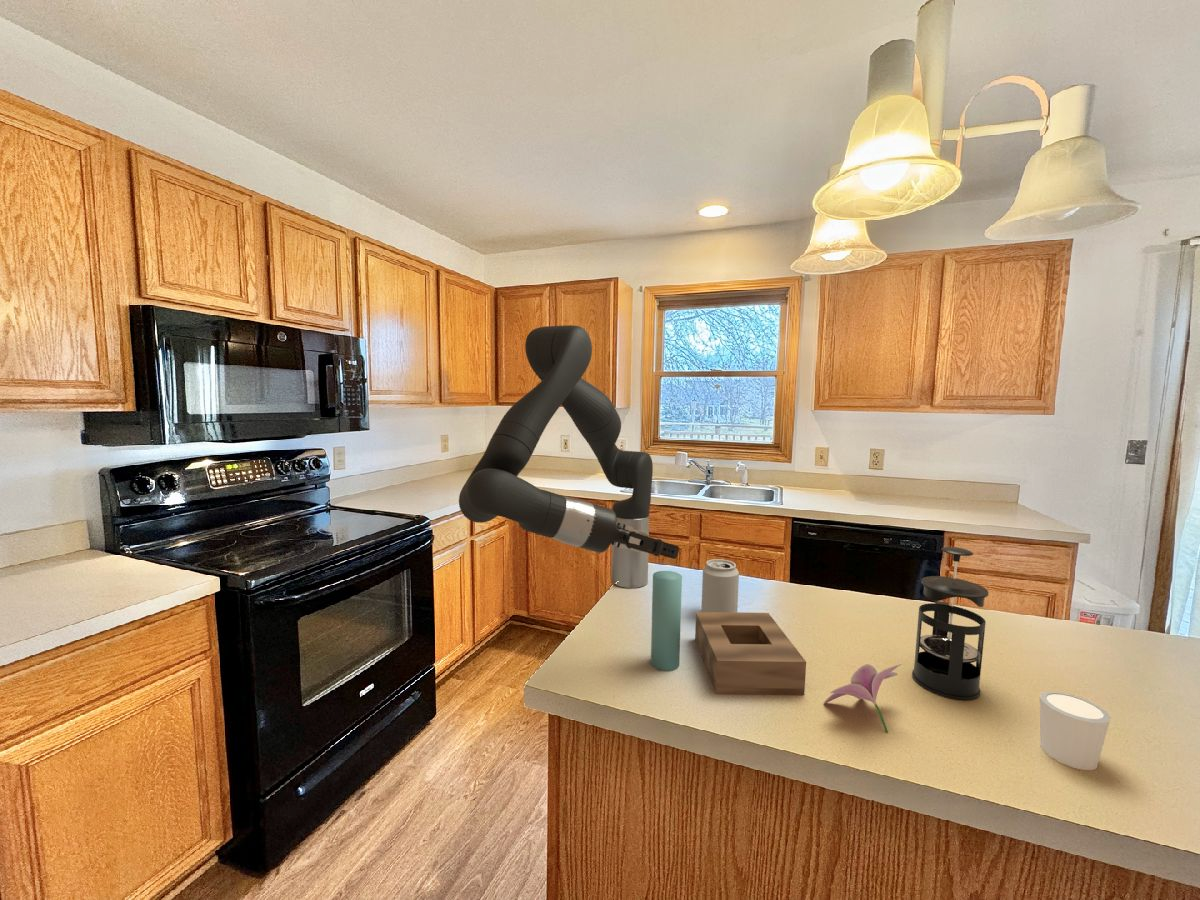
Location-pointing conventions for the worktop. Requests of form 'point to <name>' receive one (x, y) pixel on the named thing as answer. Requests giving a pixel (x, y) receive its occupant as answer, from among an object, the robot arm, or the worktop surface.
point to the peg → (666, 620)
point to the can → (720, 586)
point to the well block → (748, 654)
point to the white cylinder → (1072, 729)
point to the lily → (865, 685)
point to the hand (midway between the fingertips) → (664, 548)
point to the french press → (950, 650)
